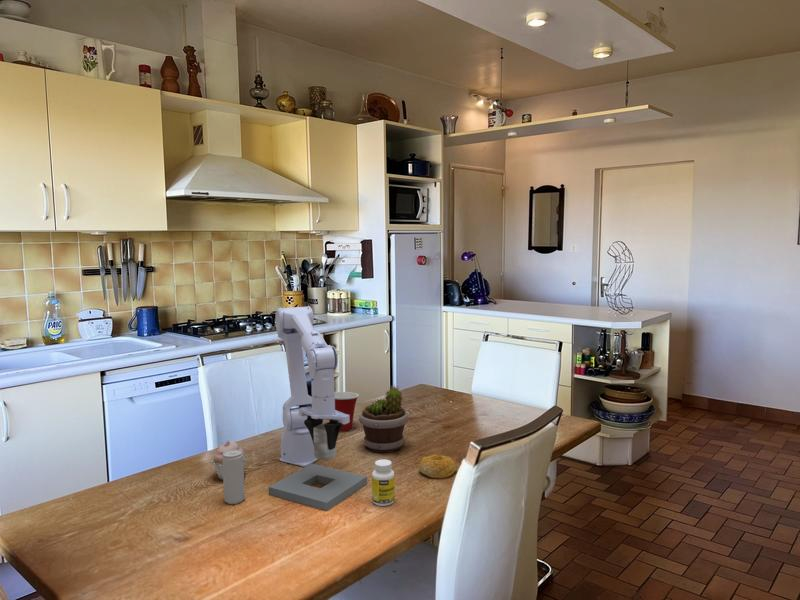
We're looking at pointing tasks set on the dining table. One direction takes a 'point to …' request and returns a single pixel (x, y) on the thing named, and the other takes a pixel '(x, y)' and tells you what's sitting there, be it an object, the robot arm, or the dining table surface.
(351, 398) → the plastic cup
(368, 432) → the flowerpot
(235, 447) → the cupcake
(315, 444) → the peg
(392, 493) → the supplement bottle
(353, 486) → the socket board
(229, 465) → the beverage can
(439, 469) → the bagel
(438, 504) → the dining table surface
